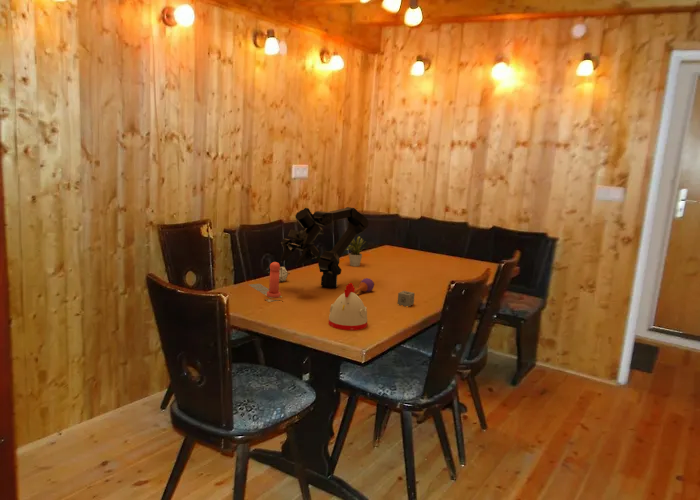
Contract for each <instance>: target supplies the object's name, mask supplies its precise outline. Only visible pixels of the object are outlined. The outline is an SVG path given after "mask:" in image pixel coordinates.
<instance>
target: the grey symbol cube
mask: <svg viewBox="0 0 700 500" xmlns="http://www.w3.org/2000/svg"><path fill="white" fill-rule="evenodd" d="M415 295H416V294H415V292H412V291H408V290H407V291H406V290H402V291H400V292H398V293H397V304H399V305H398V306H401V305H403V306H402V307H406V306H408V307H407V308H409V306H410V307H412V306H414V305H413V304H415ZM411 305H412V306H411Z"/></svg>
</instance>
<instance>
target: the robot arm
mask: <svg viewBox="0 0 700 500" xmlns="http://www.w3.org/2000/svg"><path fill="white" fill-rule="evenodd" d="M296 212H297V211H296ZM294 217H295V219H296V221H297V222H298V224H299V225H301V227H302V228H303V229H304V230H303V229H301V230H300V231H299V230H296V229H289V233H288V235H287V237H288V238H289V239H288V238H282V240H281V242H280V244H281V246H282V248H283V250H282V254H281V257H280V262H281V263H283V262H284V261H286V260H287V259H288V258H289V257H290V256H292V255H293V254H294V253H293V252H295V251H296V250H297V251H302V253H301V255H300V256H299V258H298V259H297V261H296V262H295V266H296V267H299V266H300V265H302V264H305V263H307V262H309V261H312V260H313V259H318V257H319V259H318V262H317V265H318V269H319V272H320V273H322V275H321V277H320V286H321V288H322V289H323V288H324V289H337V287H338V276H339V275H341V273H342V268H341V267H340V265H339V264H340V258H341V256H342V255H343V254H344V252H345V251H347V248H349V247H348V246H349V245H350V244H352V243H351V242H352V241H353V239H354V240H355V238H356V236H357V235H359V234H362V233H363V232H365V230H367V228H368V226H369V219H368V218H367V217H366V216H365V215H364V214H362V213H360V212H359V211H358V210H357V209H356V208H355V207H349V206H347V207H343V208H341V209H335V210H332V211H322V210H318V211H317V210H316V211H314V213H312V212H311V209H310V208H308V207H305V208H304V209H301V210H299V211H298V212H297V213H296V214H295V216H294ZM343 219H346V221H347V229H346V230H345V232H344V233H343V234H342V236H341V237H340V238H339V240H338V241H337V242H336V244H335V245H334V246H333V247H332V249H331V250H330V251H327V250H324V251H323V252H322V254H321V255H320V251H319V249H318V248H317V246H315V245H314V244H315V243H316V242H315V240H316V238H317V237H318V235H324V228H323V227H327V226H329V225H331V224H333V222H335V221H339V220H343ZM321 226H323V227H321ZM290 238H291V239H292V240H291V239H290Z"/></svg>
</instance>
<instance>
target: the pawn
mask: <svg viewBox="0 0 700 500" xmlns="http://www.w3.org/2000/svg"><path fill="white" fill-rule="evenodd" d="M280 267H281V265H280V263H279V262H277V261H273V262H271V263H270V264H269V269H270V270H269V286H268V287H269V288H268V289H269V291H268V290H267V291H268V292H267V294H266V295H267V296H268V298H269V297H271V298H270V299H277V298H281V297H280V296H282V295H281V294H282V292H281V291H280V290H279V289H280V282H279V272H280V271H279V270H280ZM267 296H266V297H267Z"/></svg>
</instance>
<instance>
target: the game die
mask: <svg viewBox="0 0 700 500" xmlns="http://www.w3.org/2000/svg"><path fill="white" fill-rule="evenodd" d="M279 271H280V272H279V283H281V282H283V283H285V282H286V281H287V278H288V275H290V274H291V273H290V272H288V271H287V269H286V265H284V266H280V270H279Z"/></svg>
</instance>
